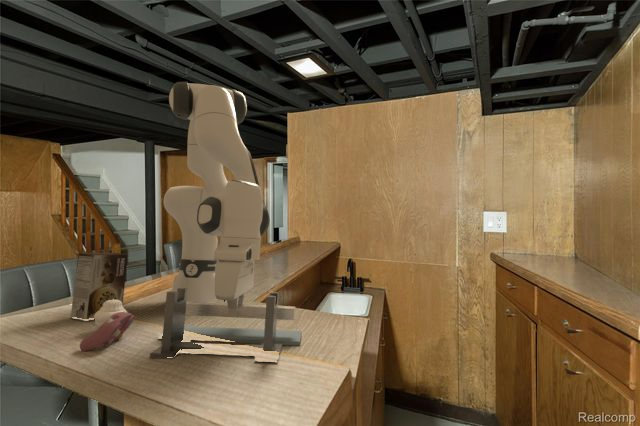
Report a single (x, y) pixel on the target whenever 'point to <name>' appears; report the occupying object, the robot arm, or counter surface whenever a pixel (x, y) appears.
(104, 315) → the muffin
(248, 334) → the slate mat
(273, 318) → the rail rack
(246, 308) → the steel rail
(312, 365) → the counter surface
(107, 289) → the coffee box
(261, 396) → the counter surface
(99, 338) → the video game controller
